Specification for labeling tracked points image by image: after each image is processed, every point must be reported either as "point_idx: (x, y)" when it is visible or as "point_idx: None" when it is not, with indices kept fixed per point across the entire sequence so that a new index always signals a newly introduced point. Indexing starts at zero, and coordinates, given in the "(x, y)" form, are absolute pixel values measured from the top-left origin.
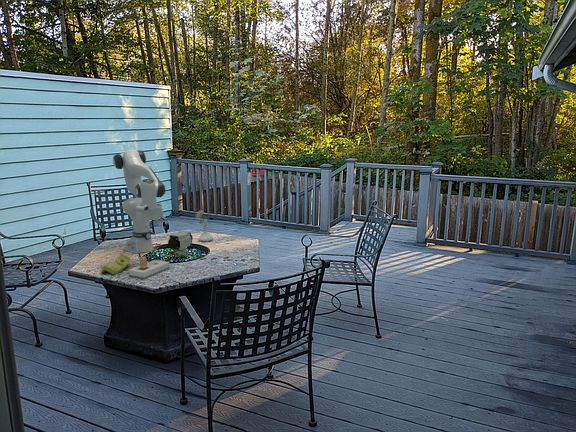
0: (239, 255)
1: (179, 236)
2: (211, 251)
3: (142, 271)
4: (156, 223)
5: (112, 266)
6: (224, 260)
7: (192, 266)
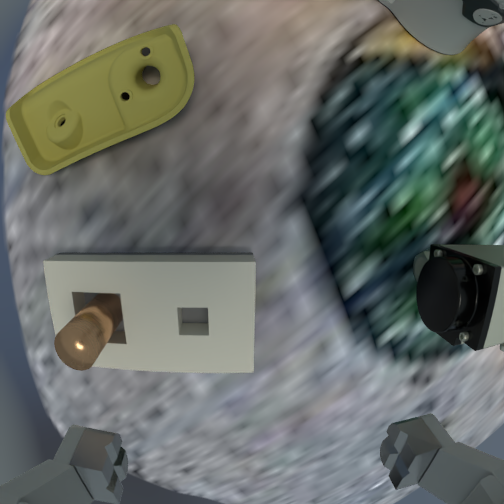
0: (461, 435)
1: (486, 346)
2: None
3: None
4: (404, 477)
5: (67, 100)
6: None
7: (316, 415)
